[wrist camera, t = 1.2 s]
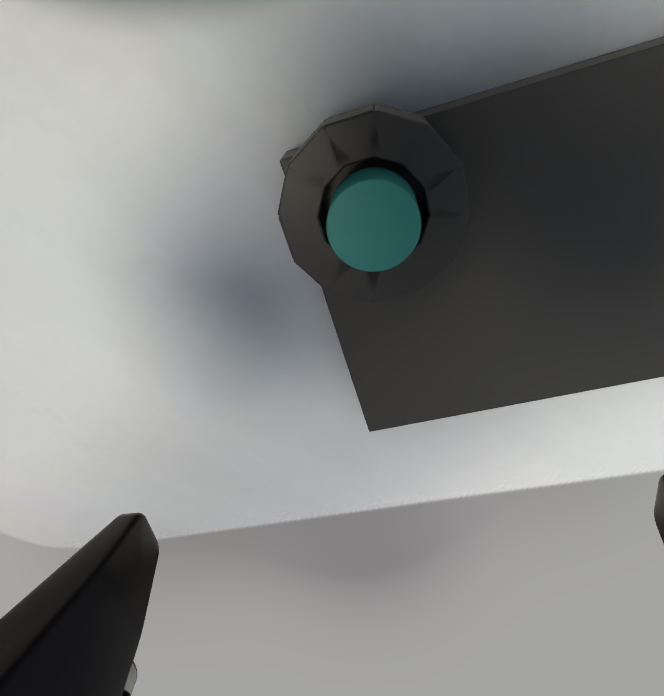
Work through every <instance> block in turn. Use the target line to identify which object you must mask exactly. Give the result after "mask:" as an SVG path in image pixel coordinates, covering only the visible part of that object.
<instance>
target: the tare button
mask: <svg viewBox="0 0 664 696" xmlns="http://www.w3.org/2000/svg"><path fill="white" fill-rule="evenodd" d="M326 231H327V237H328V240H329V243H330V245H331V247H332V249H333V251H334V252H335V253H336V255H337V256H338V257H339V258H340V259H341V260H342V261H344V262H345V263H346V264H348V265H349V266H351V267H353V268H356V269H359V270H363V271H370V272H376V271H383V270H387V269H390V268H393V267H395V266H397V265H398V264H400V263H402V262H403V261H404V260H405V259H406V258H407V257H408V256H409V255H410V254H411V253H412V252H413V250H414V249H415V247H416V245H417V243H418V240H419V237H420V233H421V216H420V211H419V207H418V203H417V199H416V196H415V193H414V191H413V189H412V188H411V186H410V184H409V183H408V182H407V181H406V180H405V179H404V178H403V177H402V176H400V175H399V174H398V173H396V172H394V171H392V170H389V169H386V168H381V167H369V168H364V169H360V170H358V171H355V172H354V173H352V174H350V175H349V176H347V177H346V178H345V179H344V180H343V181H342V182H341V183H340V184H339V186H338V187H337V189H336V190H335V192H334V194H333V197H332V200H331V204H330V208H329V211H328V215H327V221H326Z"/></svg>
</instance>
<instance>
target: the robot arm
mask: <svg viewBox="0 0 664 696" xmlns="http://www.w3.org/2000/svg"><path fill="white" fill-rule="evenodd" d="M654 516H655V521H656V525H657V527H658V530H659V533H660V535H661V538H662V540H663V543H664V475H663V476H661V478H660V480H659V484H658V490H657V496H656V502H655V508H654ZM158 554H159V546H158V542H157V539H156V537H155V535H154V533H153V531H152V529H151V527H150V525H149V523H148V521H147V519H146V517H145V516H144V515H143V514H142V513H130V514H122V515H120V516H118V517H117V518H115V519H114V520H113V521H112V522H111V523H110V524H109V525H107V526H106V527H105V528H104V529H103V530H102V531H101V532H99V533H98V534H97V535H96V536H95V537H94V538H93V539H91V540H90V541H89V542H88V543H87V544H86V545H85V546H83V547H82V548H81V549H80V550H79V551H78V552H77V553H75V554H74V555H73V556H72V557H71V558H70V559H69V560H67V561H66V562H65V563H64V564H63V565H62V566H61V567H59V568H58V569H57V570H56V571H55V572H54V573H53V574H51V575H50V576H49V577H48V578H47V579H46V580H45V581H43V582H42V583H41V584H40V585H39V586H38V587H37V588H35V589H34V590H33V591H32V592H31V593H30V594H29V595H27V596H26V597H25V598H24V599H23V600H22V601H21V602H20V603H18V604H17V605H16V606H15V607H14V608H13V609H11V610H10V611H9V612H8V613H7V614H6V615H5V616H3V617H2V618H1V619H0V696H131V694H130V693H129V692H128V691H126V690H124V688H125V684H126V681H127V678H128V675H129V672H130V669H131V666H132V663H133V659H134V656H135V653H136V650H137V647H138V643H139V640H140V637H141V633H142V628H143V624H144V620H145V616H146V611H147V606H148V602H149V597H150V592H151V588H152V583H153V578H154V574H155V569H156V564H157V560H158Z"/></svg>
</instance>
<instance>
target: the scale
mask: <svg viewBox="0 0 664 696" xmlns="http://www.w3.org/2000/svg"><path fill="white" fill-rule="evenodd" d="M280 163H281V166H282V169H283V172H284V175H285V178H284V184H283V189H282V194H281V200H280V205H279V210H278V215H279V220H280V223H281V226H282V229H283V232H284V235H285V238H286V240H287V243H288V246H289V249H290V252H291V255H292V258H293V259H294V262H295V263H296V264H297V265H298V266H299V267H301V268H302V269H303V270H304V271H305V272H306V273H307V274H308V275H310V276H311V277H312V278H313V279H314V280H315V281H316V282H317V283H318V284H320V285H321V287H322V290H323V293H324V296H325V299H326V302H327V305H328V308H329V311H330V314H331V317H332V320H333V323H334V326H335V329H336V332H337V335H338V338H339V341H340V344H341V347H342V351H343V354H344V357H345V360H346V363H347V366H348V369H349V372H350V375H351V378H352V381H353V384H354V387H355V390H356V393H357V396H358V399H359V402H360V405H361V408H362V411H363V414H364V417H365V420H366V423H367V426H368V429H369V431H370V432H371V431H376V430H381V429H387V428H392V427H397V426H403V425H408V424H413V423H419V422H424V421H429V420H435V419H440V418H445V417H450V416H456V415H461V414H466V413H472V412H477V411H482V410H488V409H493V408H498V407H504V406H509V405H514V404H520V403H525V402H530V401H536V400H541V399H546V398H552V397H557V396H562V395H567V394H573V393H578V392H583V391H589V390H594V389H599V388H605V387H610V386H615V385H621V384H626V383H631V382H637V381H642V380H647V379H653V378H658V377H663V376H664V37H660V38H657V39H654V40H650V41H647V42H644V43H641V44H637V45H634V46H631V47H628V48H624V49H621V50H618V51H615V52H611V53H608V54H605V55H601V56H598V57H595V58H592V59H588V60H585V61H582V62H579V63H575V64H572V65H569V66H566V67H562V68H559V69H556V70H552V71H549V72H546V73H543V74H539V75H536V76H533V77H530V78H526V79H523V80H520V81H516V82H513V83H510V84H507V85H503V86H500V87H497V88H494V89H490V90H487V91H484V92H481V93H477V94H474V95H471V96H467V97H464V98H461V99H458V100H454V101H451V102H448V103H445V104H441V105H438V106H435V107H432V108H428V109H425V110H422V111H418V112H415V113H409V112H405V111H402V110H398V109H394V108H391V107H387V106H383V105H380V104H375V105H374V104H371V105H368V106H364V107H361V108H358V109H355V110H352V111H349V112H345V113H342V114H339V115H336V116H333V117H329V118H328V119H326V120H325V121H324V122H323V123H322V124H321V125H320V126H319V127H318V129H317V130H316V131H315V132H314V133H313V134H312V135H311V137H310V138H309V139H308V140H307V141H306V142H305V143H304V145H303V146H302V147H301V148H298V149H294V150H291V151H288V152H286V153H285V155H284V156H283V157H282V159H281V160H280ZM369 167H381V168H386V169H389V170H392V171H394V172H396V173H398V174H399V175H400V176H402V177H403V178H404V179H405V180H406V181H407V182H408V183H409V184H410V186H411V188H412V189H413V191H414V193H415V196H416V199H417V203H418V207H419V211H420V216H421V233H420V237H419V240H418V243H417V245H416V247H415V249H414V250H413V252H412V253H411V254H410V255H409V256H408V257H407V258H406V259H405V260H404V261H403V262H402V263H400V264H398V265H397V266H395V267H393V268H390V269H387V270H383V271H376V272H370V271H363V270H359V269H356V268H353V267H351V266H349V265H348V264H346V263H345V262H344V261H342V260H341V259H340V258H339V257H338V256H337V255H336V253H335V252H334V251H333V249H332V247H331V245H330V243H329V240H328V237H327V231H326V221H327V215H328V211H329V208H330V204H331V200H332V197H333V194H334V192H335V190H336V189H337V187H338V186H339V184H340V183H341V182H342V181H343V180H344V179H345V178H346V177H347V176H349V175H350V174H352V173H354V172H355V171H358V170H360V169H364V168H369Z"/></svg>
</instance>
